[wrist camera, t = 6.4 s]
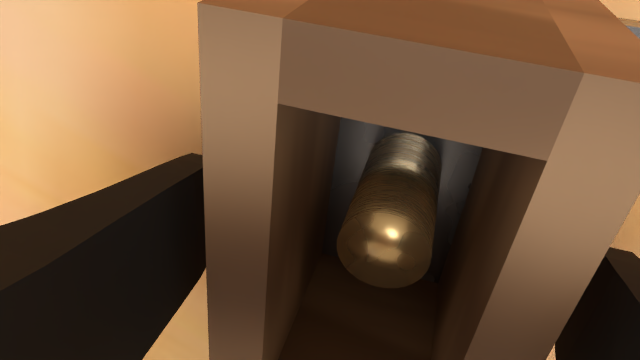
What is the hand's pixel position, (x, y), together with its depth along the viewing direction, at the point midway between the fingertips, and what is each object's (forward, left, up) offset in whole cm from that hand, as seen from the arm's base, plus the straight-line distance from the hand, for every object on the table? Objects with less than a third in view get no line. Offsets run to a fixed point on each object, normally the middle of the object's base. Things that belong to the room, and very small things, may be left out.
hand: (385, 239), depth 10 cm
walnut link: (0, 0, -3) cm, 3 cm away
